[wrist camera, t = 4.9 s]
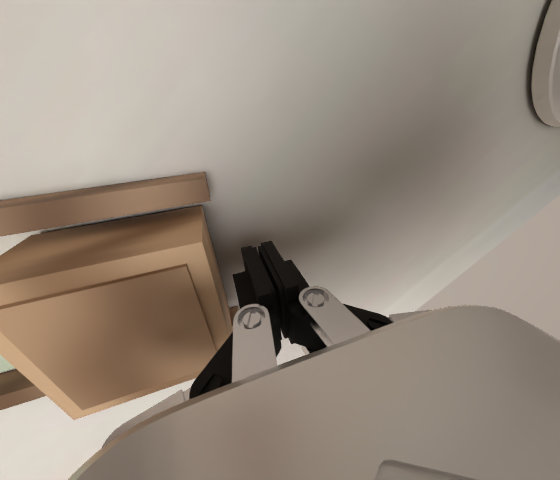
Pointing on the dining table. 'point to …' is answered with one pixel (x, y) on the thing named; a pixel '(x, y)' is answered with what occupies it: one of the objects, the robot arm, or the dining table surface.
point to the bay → (84, 208)
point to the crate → (113, 308)
